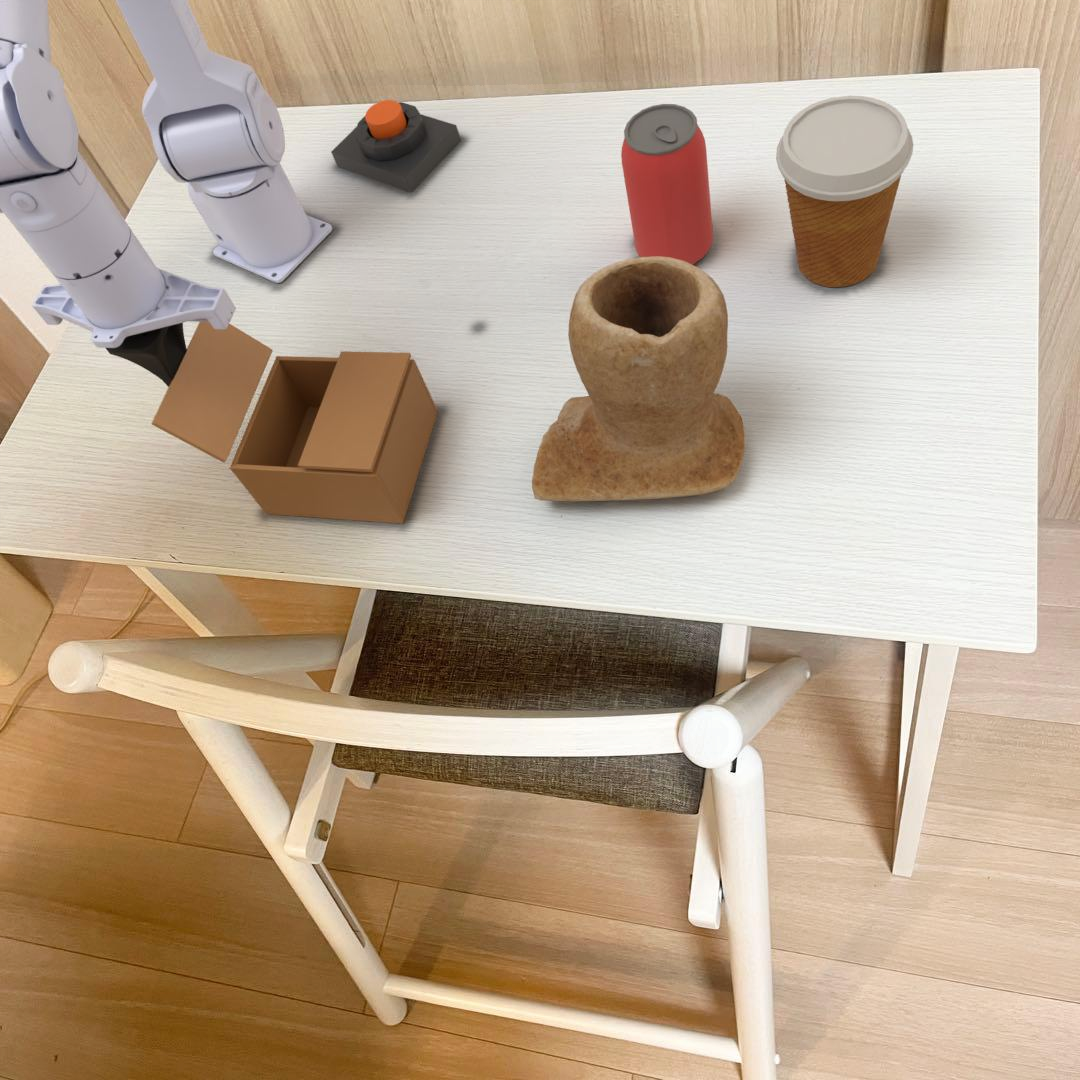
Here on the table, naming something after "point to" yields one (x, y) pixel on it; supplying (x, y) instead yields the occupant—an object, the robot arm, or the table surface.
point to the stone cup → (644, 390)
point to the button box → (398, 150)
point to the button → (385, 119)
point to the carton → (338, 437)
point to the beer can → (667, 183)
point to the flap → (213, 389)
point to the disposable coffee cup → (842, 184)
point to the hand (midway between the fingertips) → (190, 384)
